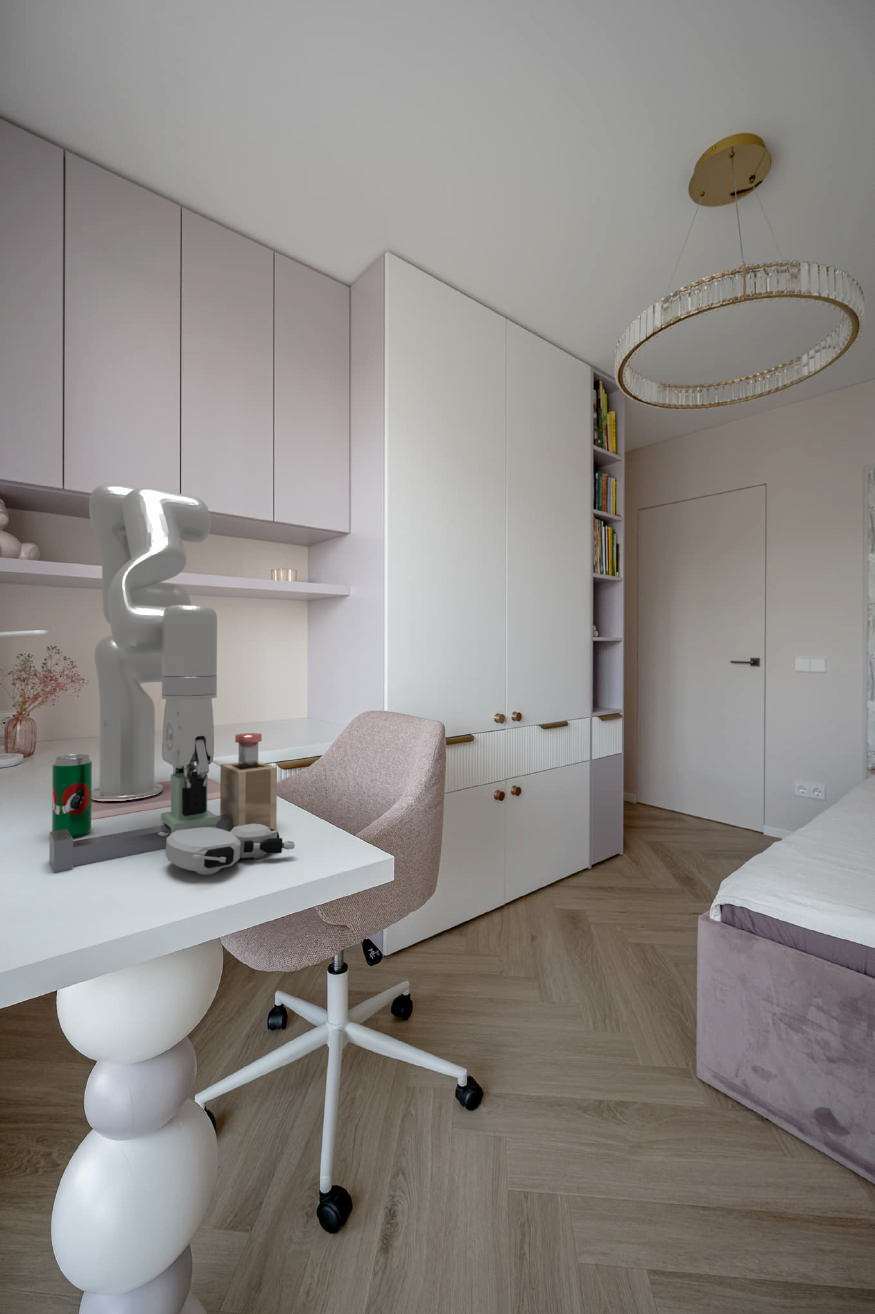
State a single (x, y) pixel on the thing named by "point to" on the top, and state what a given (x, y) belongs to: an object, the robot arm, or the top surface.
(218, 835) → the robot toy
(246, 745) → the plunger
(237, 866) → the top surface
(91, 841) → the rail
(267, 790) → the open wooden box
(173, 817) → the carriage
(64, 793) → the soda can
